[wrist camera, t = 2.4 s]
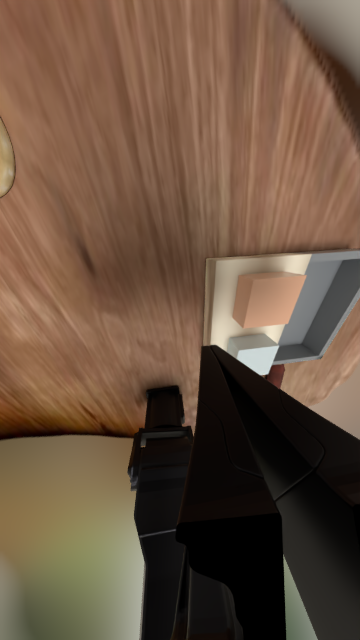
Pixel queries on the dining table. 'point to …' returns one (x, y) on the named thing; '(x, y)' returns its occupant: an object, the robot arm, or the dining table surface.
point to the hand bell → (6, 161)
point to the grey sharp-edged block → (254, 351)
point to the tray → (320, 305)
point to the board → (223, 293)
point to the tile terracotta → (266, 298)
